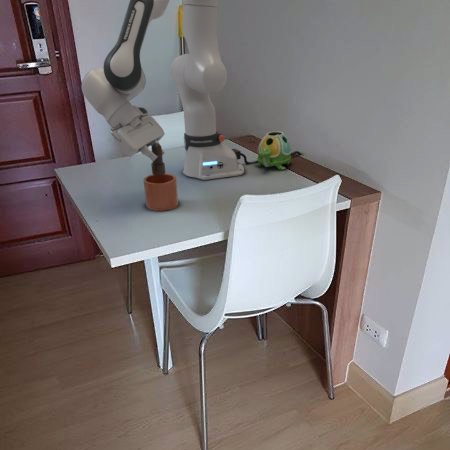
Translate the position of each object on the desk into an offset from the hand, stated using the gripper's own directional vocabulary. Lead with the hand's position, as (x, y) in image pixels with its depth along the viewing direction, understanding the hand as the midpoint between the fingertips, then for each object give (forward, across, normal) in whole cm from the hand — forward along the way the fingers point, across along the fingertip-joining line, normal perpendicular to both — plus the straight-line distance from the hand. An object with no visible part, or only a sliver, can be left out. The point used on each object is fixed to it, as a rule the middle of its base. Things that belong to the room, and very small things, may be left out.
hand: (159, 157), depth 146 cm
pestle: (+3, 0, +4) cm, 5 cm away
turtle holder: (+27, +48, -6) cm, 55 cm away
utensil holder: (+10, 0, +11) cm, 15 cm away
